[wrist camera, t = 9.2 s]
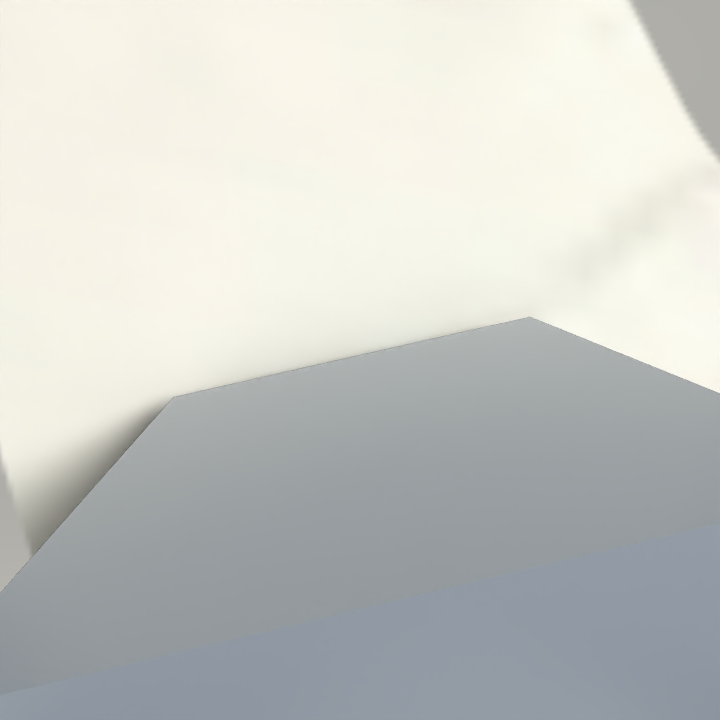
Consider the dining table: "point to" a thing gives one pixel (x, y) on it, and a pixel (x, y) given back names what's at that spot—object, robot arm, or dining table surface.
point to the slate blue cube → (392, 547)
